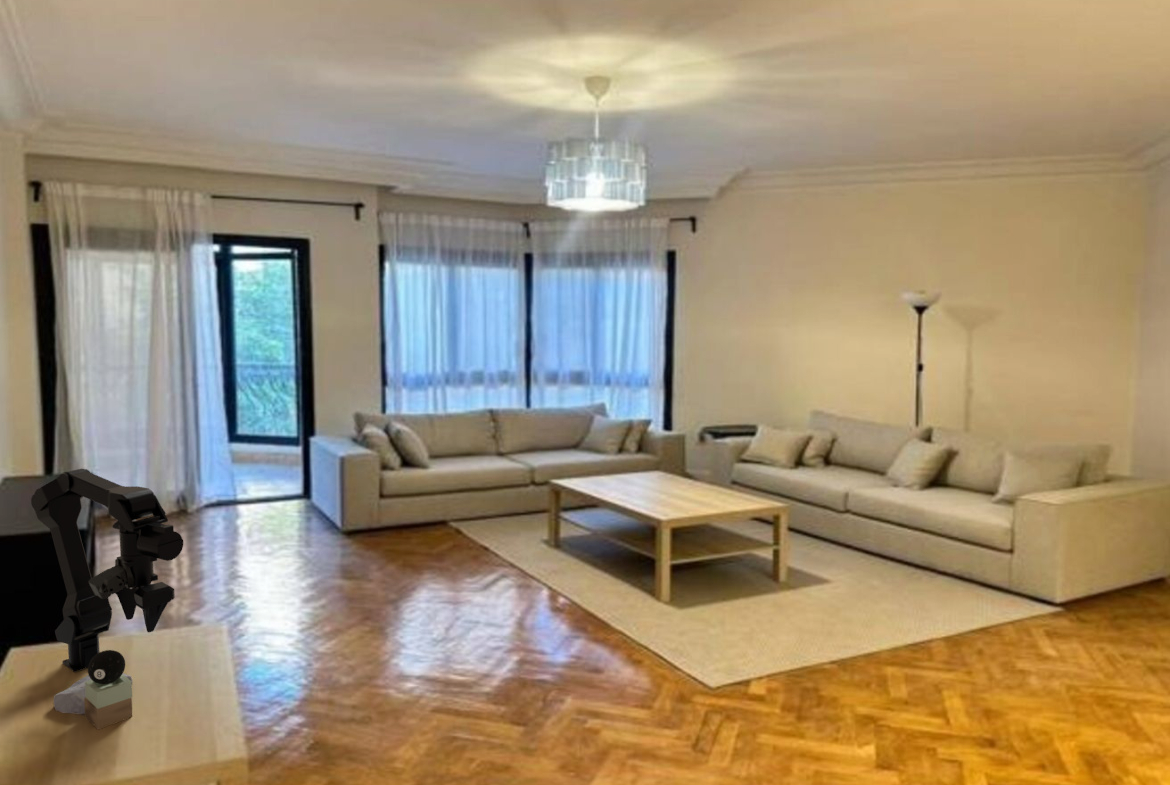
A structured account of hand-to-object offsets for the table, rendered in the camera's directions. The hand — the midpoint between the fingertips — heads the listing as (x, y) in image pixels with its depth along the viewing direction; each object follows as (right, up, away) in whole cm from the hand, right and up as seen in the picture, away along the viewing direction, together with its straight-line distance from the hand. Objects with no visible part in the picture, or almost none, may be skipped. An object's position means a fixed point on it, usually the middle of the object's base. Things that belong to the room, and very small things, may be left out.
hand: (139, 625), depth 168 cm
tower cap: (+1, -10, -12) cm, 16 cm away
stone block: (-7, -14, -5) cm, 16 cm away
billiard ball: (+1, -7, -12) cm, 14 cm away
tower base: (0, -14, -11) cm, 18 cm away
